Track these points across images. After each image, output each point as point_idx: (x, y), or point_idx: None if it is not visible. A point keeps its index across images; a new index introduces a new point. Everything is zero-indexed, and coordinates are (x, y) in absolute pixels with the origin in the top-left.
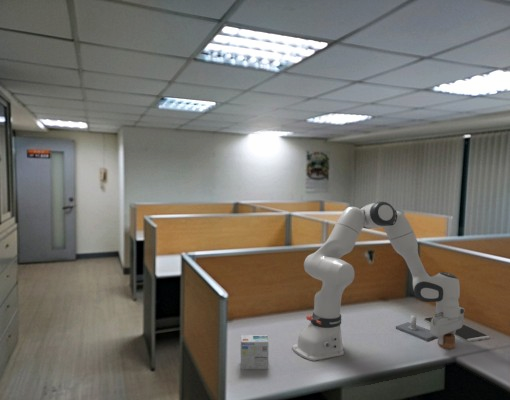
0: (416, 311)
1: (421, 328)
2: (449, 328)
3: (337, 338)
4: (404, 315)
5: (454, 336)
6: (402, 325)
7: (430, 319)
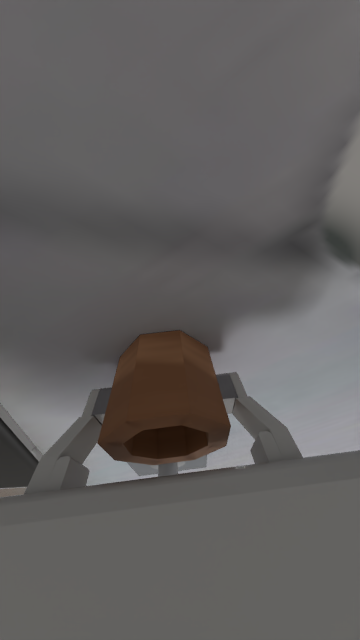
0: None
1: None
2: (203, 572)
3: None
4: None
5: (136, 420)
6: (180, 468)
7: None
